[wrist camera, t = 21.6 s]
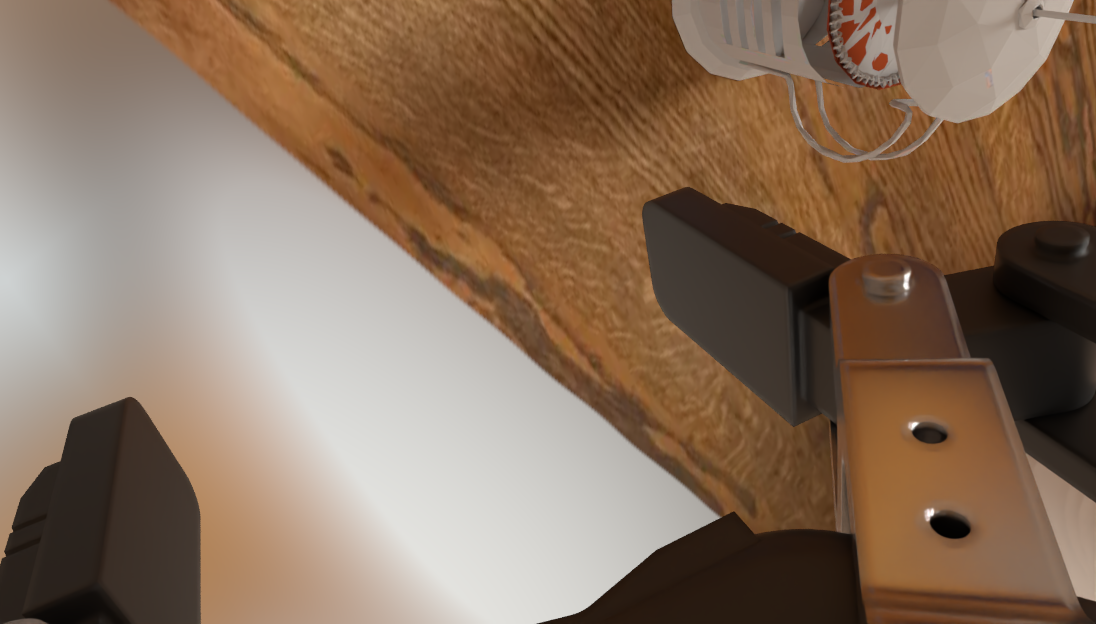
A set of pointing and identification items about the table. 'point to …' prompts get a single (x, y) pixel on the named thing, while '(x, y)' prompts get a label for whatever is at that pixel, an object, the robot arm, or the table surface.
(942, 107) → the french press
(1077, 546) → the vase
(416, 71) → the table surface
